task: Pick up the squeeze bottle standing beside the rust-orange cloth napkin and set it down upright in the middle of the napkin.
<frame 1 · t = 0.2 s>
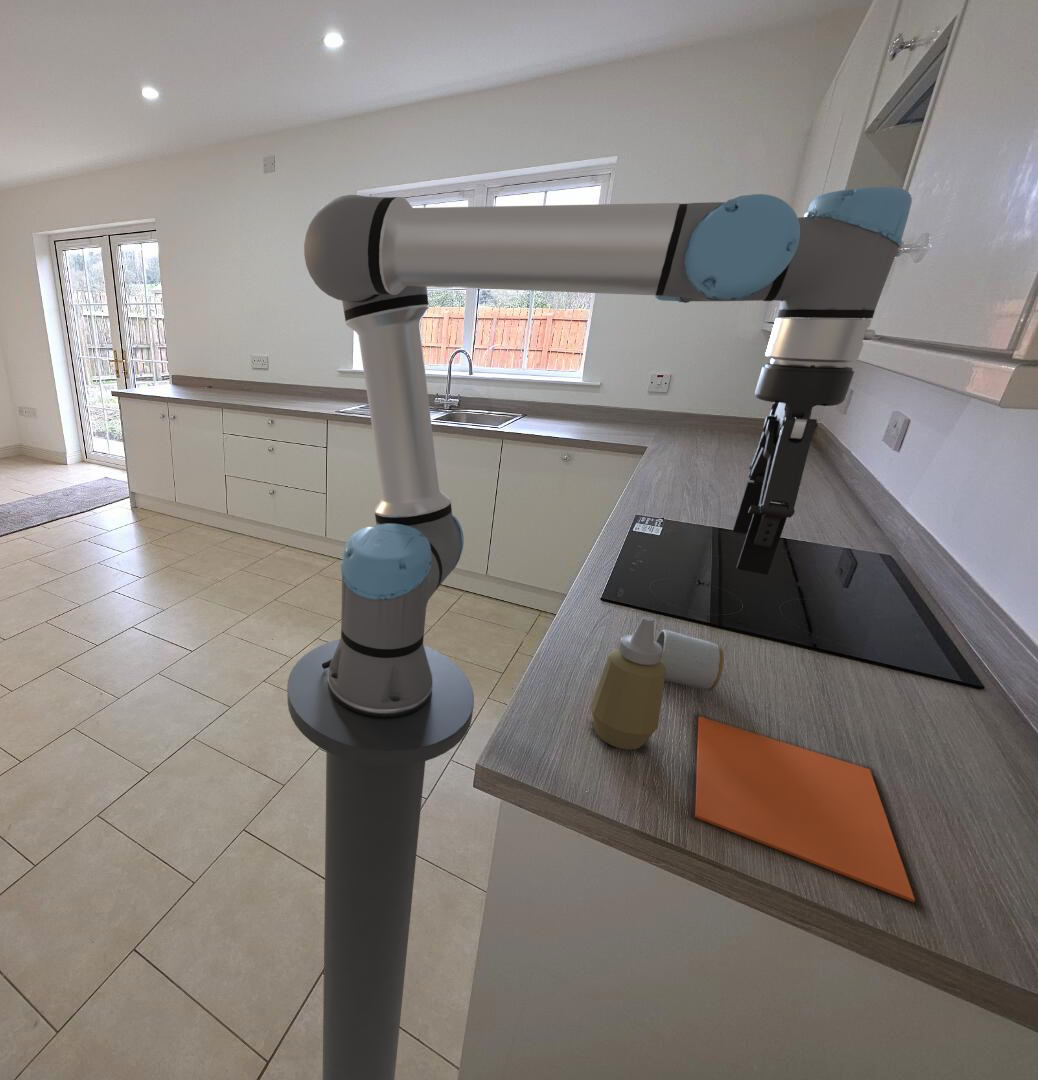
hand: (748, 550, 67), 27 cm above the worktop, tool pointing down, fingers open, 13 cm apart
napkin: (786, 793, 67), on the worktop
squeeze bottle: (617, 736, 76), on the worktop
ceramic mug: (676, 676, 88), on the worktop
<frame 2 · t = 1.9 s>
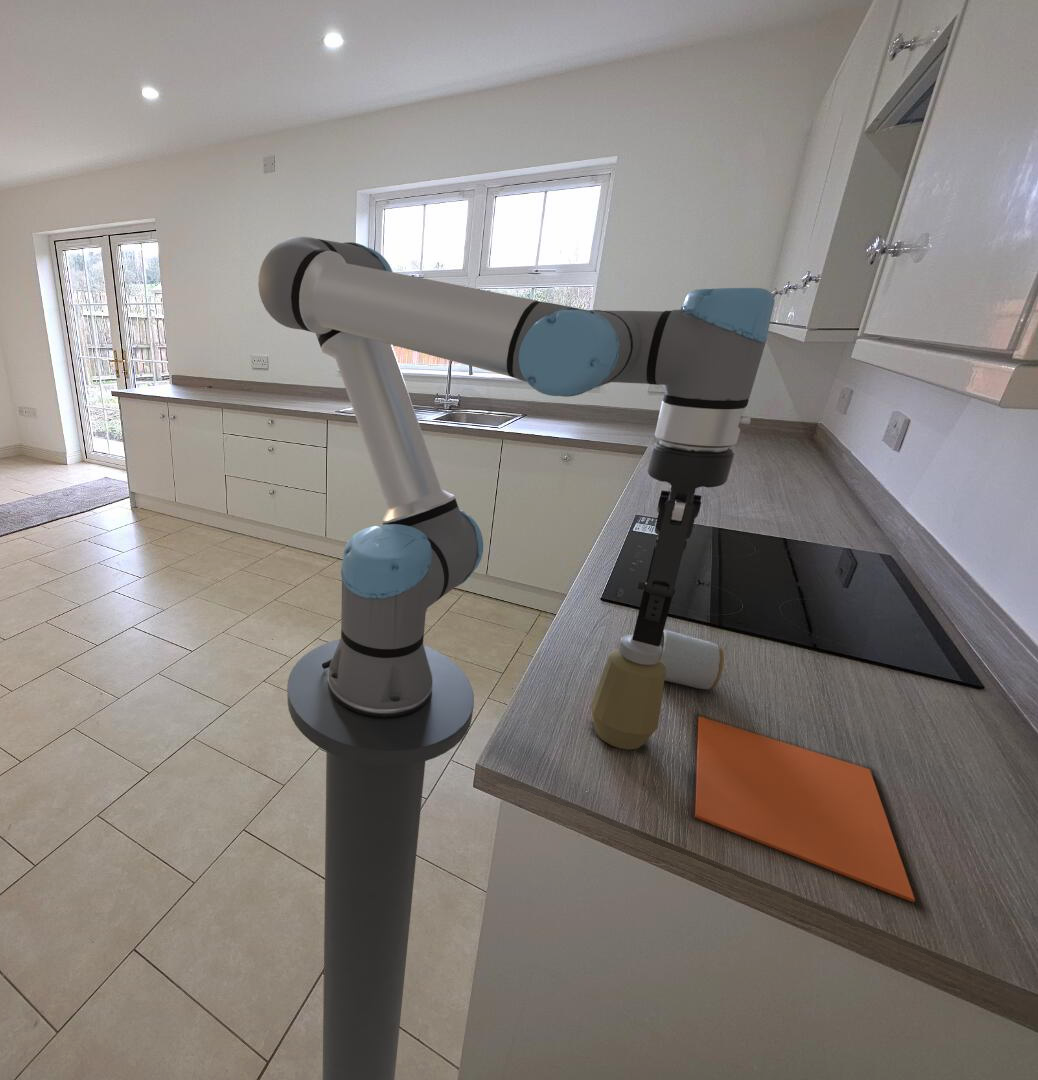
hand: (650, 616, 69), 18 cm above the worktop, tool pointing down, fingers open, 13 cm apart
nothing on the worktop moved.
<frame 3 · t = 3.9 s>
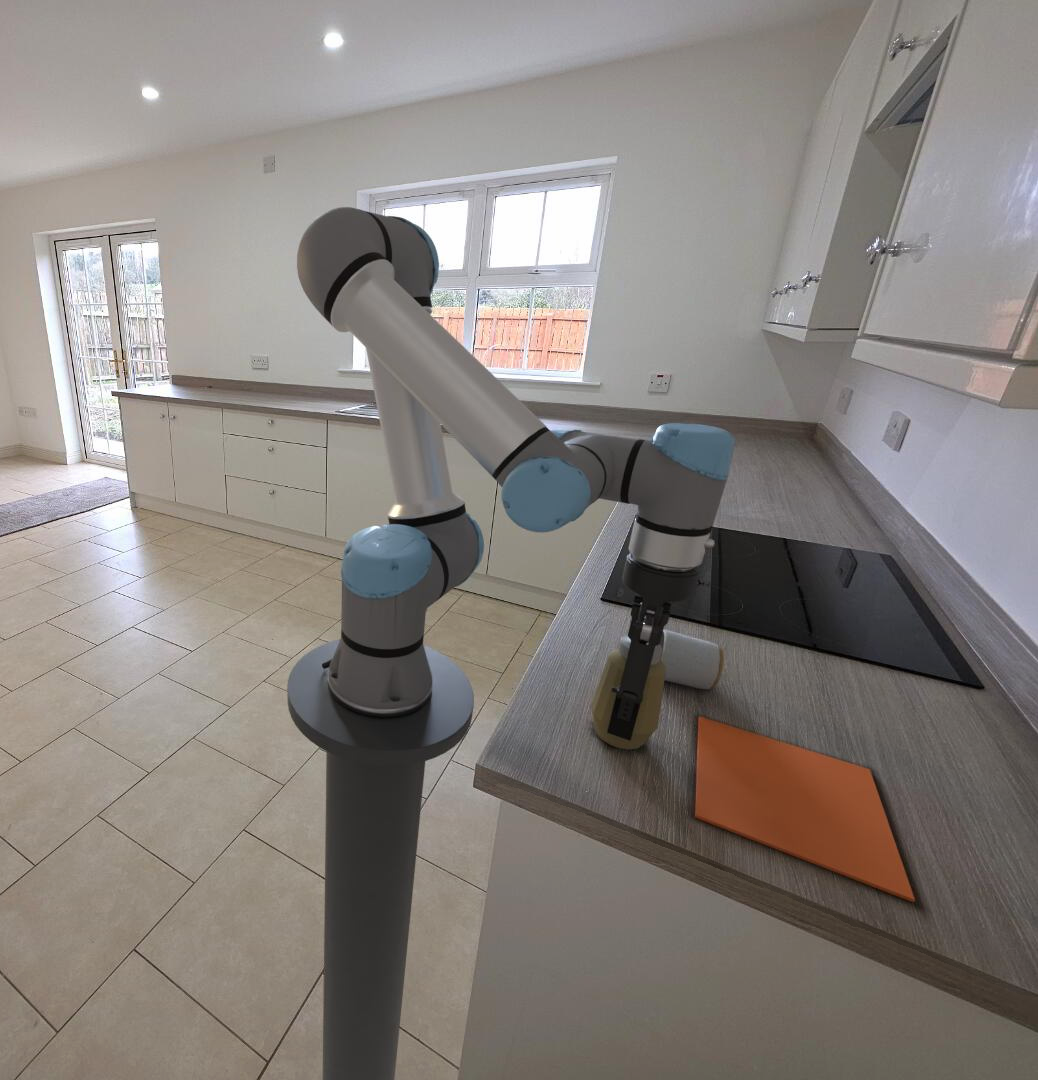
hand: (623, 715, 74), 3 cm above the worktop, tool pointing down, fingers closed on squeeze bottle, 8 cm apart
squeeze bottle: (617, 736, 76), on the worktop, touching gripper
everything else where it was.
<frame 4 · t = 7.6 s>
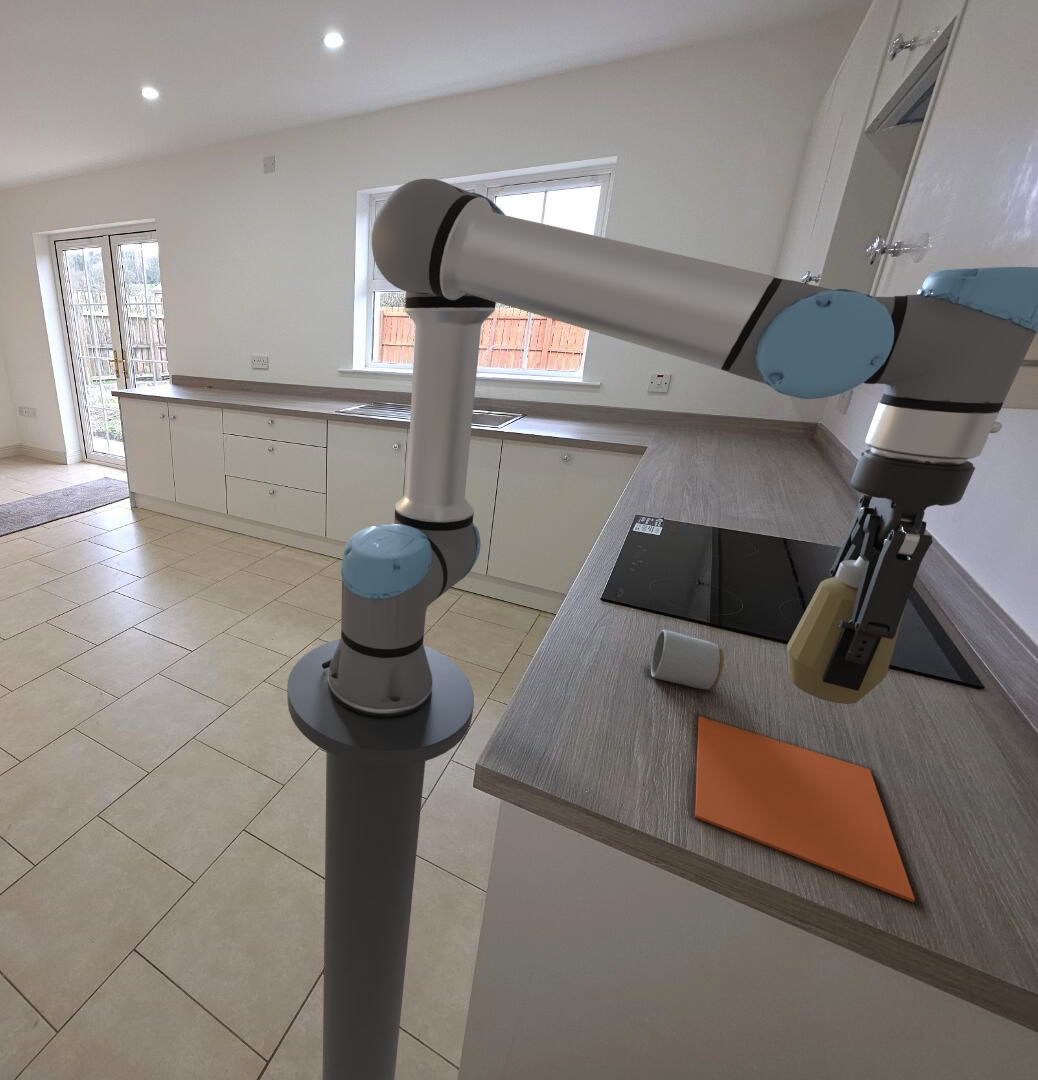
hand: (832, 663, 60), 18 cm above the worktop, tool pointing down, fingers closed on squeeze bottle, 8 cm apart
squeeze bottle: (822, 689, 61), point 15 cm above the worktop, touching gripper
everything else where it was.
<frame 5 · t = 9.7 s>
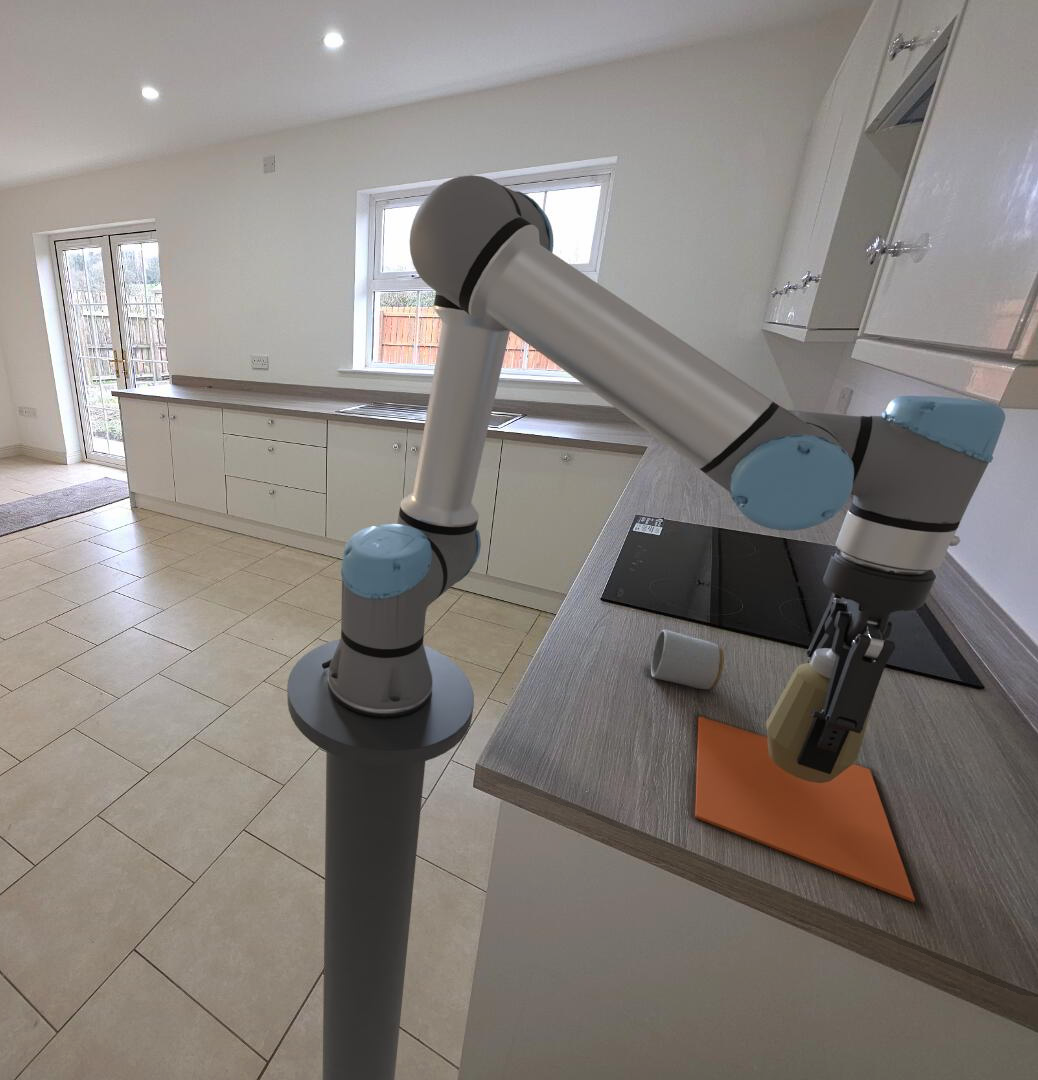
hand: (808, 742, 64), 8 cm above the worktop, tool pointing down, fingers closed on squeeze bottle, 8 cm apart
squeeze bottle: (798, 766, 65), point 4 cm above the worktop, touching gripper
everything else where it was.
when the fingers open (4 cm above the worktop, at t = 11.2 s): squeeze bottle stays where it is, resting on napkin.
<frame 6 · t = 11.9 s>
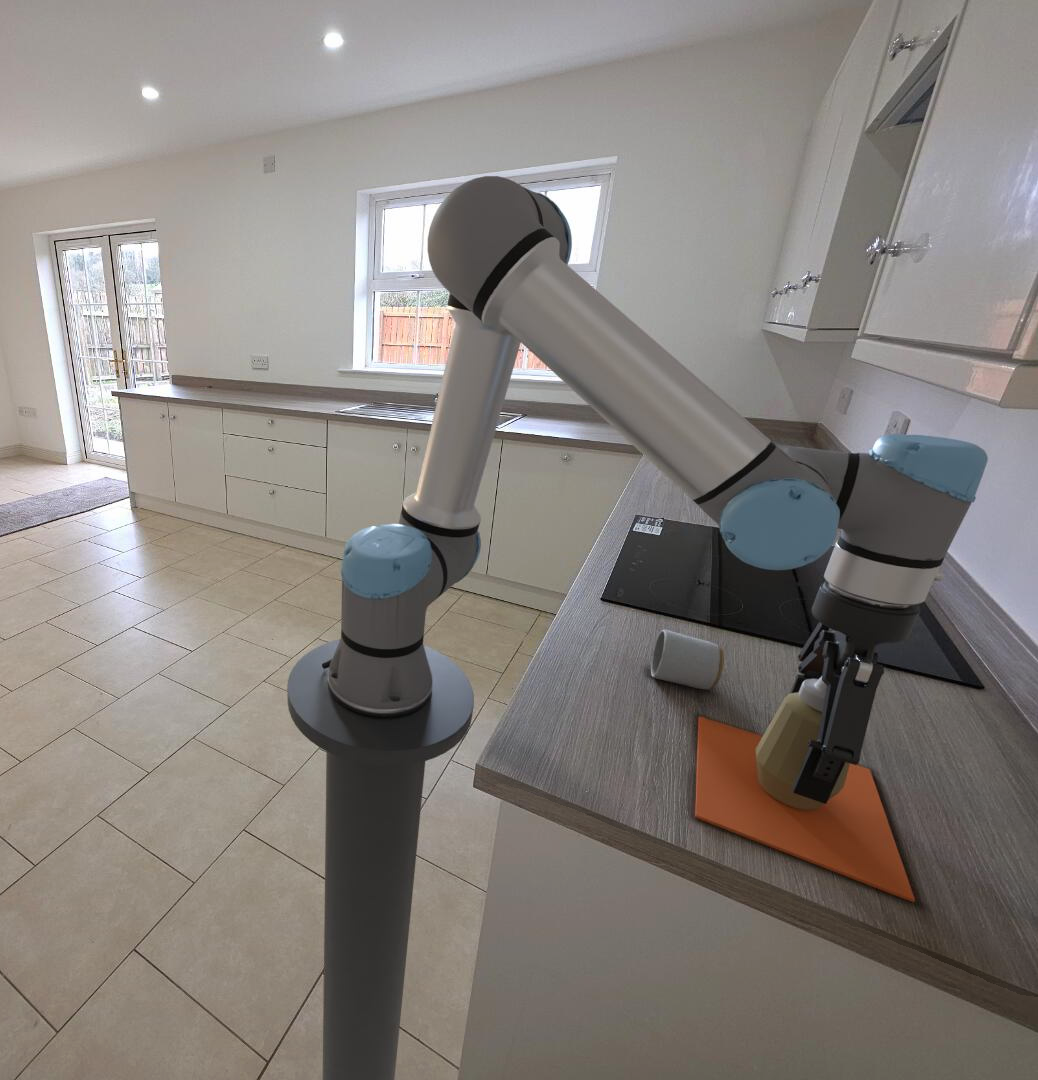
hand: (800, 756, 65), 6 cm above the worktop, tool pointing down, fingers open, 13 cm apart
squeeze bottle: (787, 792, 66), resting on napkin
everything else where it was.
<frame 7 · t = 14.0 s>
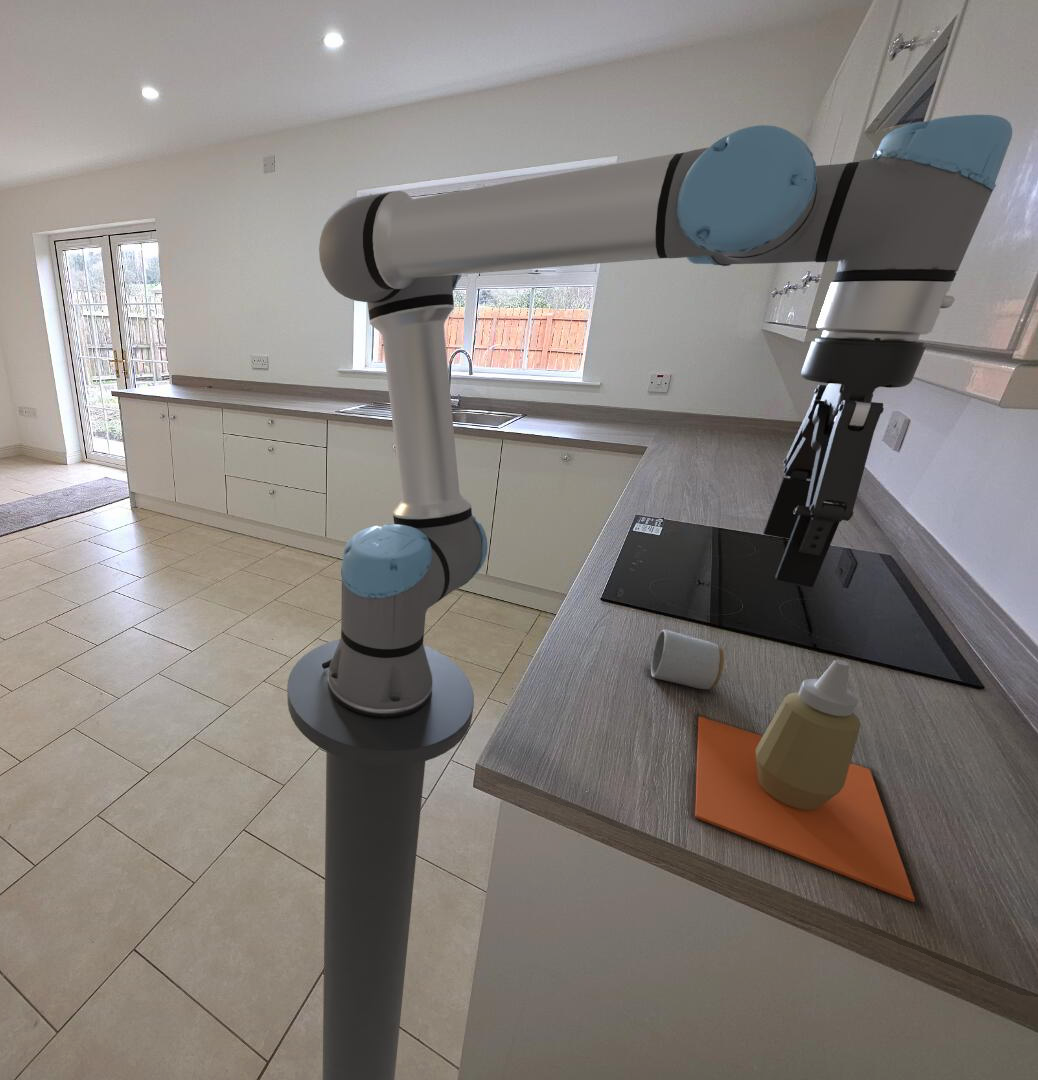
hand: (784, 557, 57), 30 cm above the worktop, tool pointing down, fingers open, 13 cm apart
nothing on the worktop moved.
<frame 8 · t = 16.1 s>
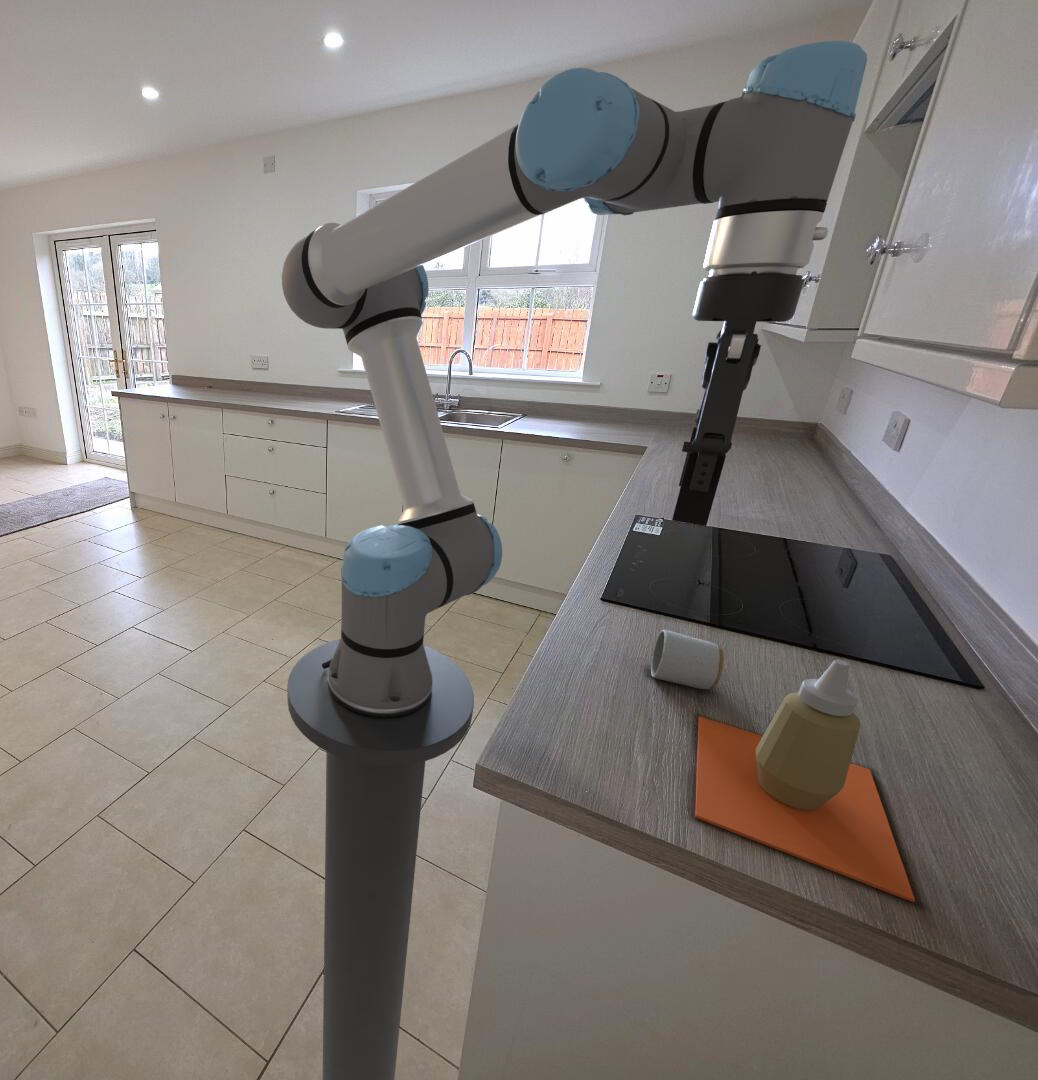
hand: (691, 503, 57), 35 cm above the worktop, tool pointing down, fingers open, 13 cm apart
nothing on the worktop moved.
at the end: squeeze bottle inside the target area on the napkin (0.0 cm from its centre), point 0.2 cm above the napkin's base; squeeze bottle tilted 0°; the gripper is holding nothing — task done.
